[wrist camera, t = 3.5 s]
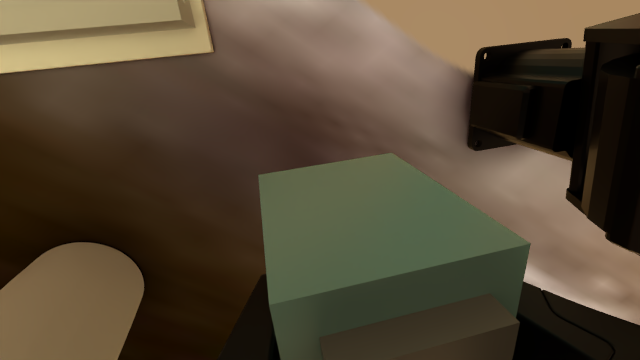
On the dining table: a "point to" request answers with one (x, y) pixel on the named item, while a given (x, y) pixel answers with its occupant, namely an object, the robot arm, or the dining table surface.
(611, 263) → the dining table surface
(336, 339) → the block
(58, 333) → the mug
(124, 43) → the mount board
